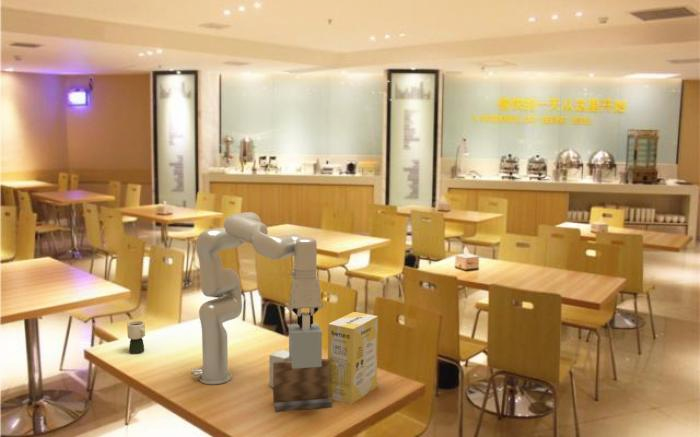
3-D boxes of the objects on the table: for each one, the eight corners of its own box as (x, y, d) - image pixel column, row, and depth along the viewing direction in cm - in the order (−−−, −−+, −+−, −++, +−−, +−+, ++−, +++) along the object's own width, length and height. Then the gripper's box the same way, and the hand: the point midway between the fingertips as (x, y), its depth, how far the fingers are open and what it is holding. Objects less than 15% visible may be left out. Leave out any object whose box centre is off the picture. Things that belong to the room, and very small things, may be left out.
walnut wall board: (275, 411, 223) (275, 370, 221) (273, 402, 230) (273, 362, 228) (332, 407, 227) (332, 366, 225) (327, 397, 235) (328, 358, 233)
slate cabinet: (292, 368, 216) (292, 318, 214) (289, 359, 225) (289, 310, 222) (321, 366, 218) (321, 316, 216) (317, 357, 227) (317, 309, 225)
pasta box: (352, 381, 251) (354, 311, 247) (376, 386, 245) (378, 316, 241) (327, 397, 235) (328, 323, 231) (351, 404, 230) (353, 328, 226)
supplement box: (284, 390, 241) (284, 358, 239) (268, 386, 244) (268, 354, 243) (296, 384, 247) (296, 352, 245) (280, 379, 251) (280, 348, 249)
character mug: (151, 352, 279) (151, 323, 277) (138, 356, 273) (137, 327, 271) (135, 347, 284) (134, 318, 282) (121, 351, 278) (120, 322, 276)
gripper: (282, 277, 212) (282, 331, 215) (330, 275, 215) (330, 328, 218) (280, 272, 219) (280, 324, 222) (326, 270, 223) (326, 321, 225)
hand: (305, 325), depth 220 cm, fingers closed on slate cabinet, 2 cm apart
